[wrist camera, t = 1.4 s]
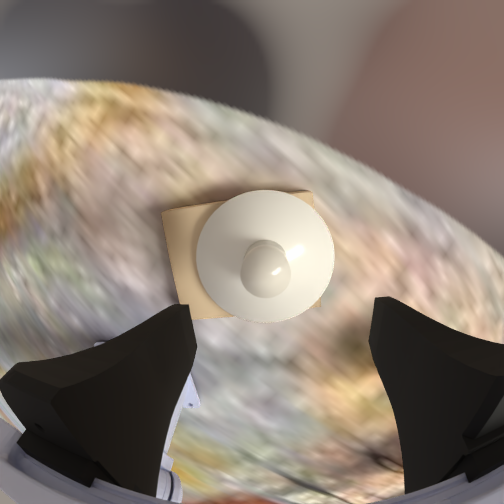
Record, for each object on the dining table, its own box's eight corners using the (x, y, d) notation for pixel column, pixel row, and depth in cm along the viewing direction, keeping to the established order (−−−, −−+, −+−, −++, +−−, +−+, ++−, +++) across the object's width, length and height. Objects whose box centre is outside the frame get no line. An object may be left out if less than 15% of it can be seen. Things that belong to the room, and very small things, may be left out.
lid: (211, 324, 20) (202, 348, 17) (187, 200, 18) (172, 205, 15) (334, 310, 19) (345, 333, 16) (326, 182, 17) (339, 184, 14)
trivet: (190, 308, 22) (183, 320, 20) (170, 209, 20) (160, 212, 18) (316, 295, 21) (320, 306, 19) (307, 190, 19) (312, 191, 17)
